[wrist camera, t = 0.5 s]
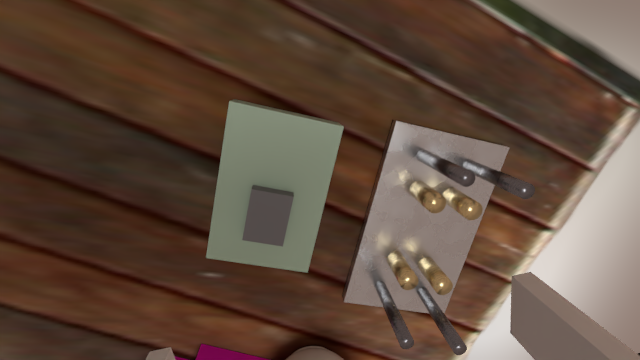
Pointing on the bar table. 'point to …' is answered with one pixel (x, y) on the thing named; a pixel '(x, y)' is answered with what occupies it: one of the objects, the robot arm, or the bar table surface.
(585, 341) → the robot arm
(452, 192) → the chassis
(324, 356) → the lidded jar
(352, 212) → the bar table surface
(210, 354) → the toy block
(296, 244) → the board
